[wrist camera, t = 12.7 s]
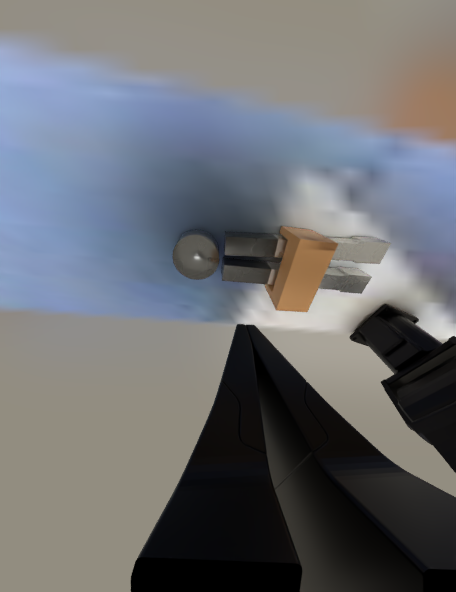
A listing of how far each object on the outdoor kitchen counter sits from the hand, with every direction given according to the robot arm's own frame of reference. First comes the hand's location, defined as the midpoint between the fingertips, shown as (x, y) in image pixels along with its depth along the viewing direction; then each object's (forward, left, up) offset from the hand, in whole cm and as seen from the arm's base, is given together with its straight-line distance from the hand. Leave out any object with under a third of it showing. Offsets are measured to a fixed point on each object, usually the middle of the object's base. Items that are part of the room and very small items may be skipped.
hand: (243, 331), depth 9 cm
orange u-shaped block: (-6, -2, -11) cm, 13 cm away
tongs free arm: (-6, -4, -11) cm, 13 cm away
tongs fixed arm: (-5, -1, -11) cm, 12 cm away
